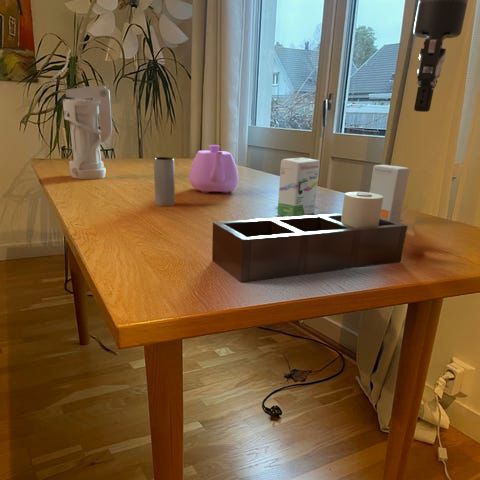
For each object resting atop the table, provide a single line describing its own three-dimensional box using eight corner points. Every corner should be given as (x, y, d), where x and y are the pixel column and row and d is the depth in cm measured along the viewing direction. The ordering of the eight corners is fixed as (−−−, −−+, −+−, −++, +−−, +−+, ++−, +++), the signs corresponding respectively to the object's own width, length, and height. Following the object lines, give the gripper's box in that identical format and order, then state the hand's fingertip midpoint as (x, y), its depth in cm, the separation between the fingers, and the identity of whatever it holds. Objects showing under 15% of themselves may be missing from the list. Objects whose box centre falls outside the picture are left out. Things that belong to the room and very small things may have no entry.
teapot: (186, 184, 138) (186, 141, 133) (232, 185, 140) (233, 142, 135) (193, 197, 120) (193, 148, 115) (245, 198, 122) (247, 149, 117)
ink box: (294, 218, 103) (299, 161, 98) (276, 214, 106) (280, 159, 101) (315, 213, 109) (321, 159, 104) (298, 209, 112) (302, 157, 107)
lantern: (68, 179, 138) (58, 83, 128) (72, 173, 148) (63, 84, 137) (114, 179, 141) (108, 85, 130) (115, 174, 150) (109, 86, 140)
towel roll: (374, 253, 81) (384, 193, 77) (371, 263, 76) (382, 199, 71) (339, 249, 83) (347, 189, 78) (334, 258, 77) (342, 195, 73)
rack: (359, 245, 85) (364, 211, 83) (400, 262, 77) (407, 225, 75) (211, 260, 74) (212, 222, 71) (240, 282, 65) (242, 239, 63)
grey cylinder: (154, 206, 109) (152, 159, 104) (156, 202, 113) (155, 156, 109) (173, 206, 109) (173, 159, 105) (175, 202, 113) (174, 157, 109)
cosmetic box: (363, 223, 101) (372, 165, 96) (375, 221, 104) (384, 164, 99) (388, 229, 97) (398, 168, 92) (399, 227, 100) (410, 167, 95)
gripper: (469, -8, 70) (444, 113, 77) (466, 10, 82) (444, 112, 89) (415, -6, 72) (396, 110, 79) (420, 10, 84) (403, 110, 91)
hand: (421, 111), depth 84 cm, fingers open, 8 cm apart
